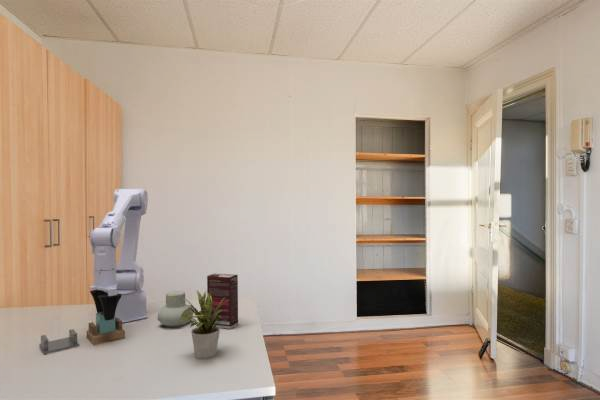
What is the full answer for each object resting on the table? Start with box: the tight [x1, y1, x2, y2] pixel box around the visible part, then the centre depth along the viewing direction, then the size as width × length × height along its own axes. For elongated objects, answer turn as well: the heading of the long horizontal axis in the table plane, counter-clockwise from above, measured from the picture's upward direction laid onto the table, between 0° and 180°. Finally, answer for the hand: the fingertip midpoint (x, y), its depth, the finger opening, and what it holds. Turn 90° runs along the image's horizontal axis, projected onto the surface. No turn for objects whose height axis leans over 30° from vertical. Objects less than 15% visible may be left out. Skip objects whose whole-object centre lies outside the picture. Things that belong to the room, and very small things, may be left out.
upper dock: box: [86, 317, 126, 346], centre depth 107 cm, size 8×8×4 cm
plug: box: [95, 312, 115, 334], centre depth 107 cm, size 4×4×6 cm
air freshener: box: [157, 290, 194, 327], centre depth 119 cm, size 11×8×10 cm
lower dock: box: [38, 328, 80, 355], centre depth 101 cm, size 8×8×3 cm
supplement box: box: [206, 272, 239, 330], centre depth 117 cm, size 9×5×16 cm, turn 71°
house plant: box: [176, 290, 228, 360], centre depth 95 cm, size 14×14×16 cm
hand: (105, 316), depth 107 cm, fingers open, 7 cm apart
